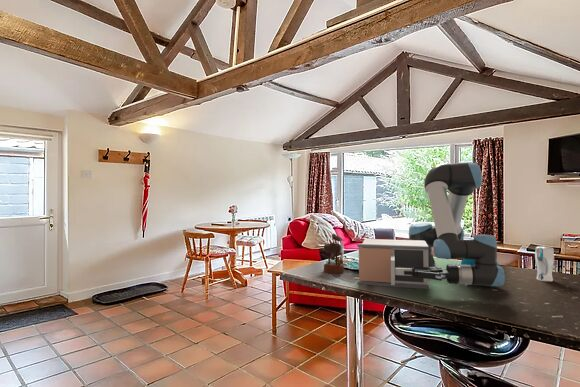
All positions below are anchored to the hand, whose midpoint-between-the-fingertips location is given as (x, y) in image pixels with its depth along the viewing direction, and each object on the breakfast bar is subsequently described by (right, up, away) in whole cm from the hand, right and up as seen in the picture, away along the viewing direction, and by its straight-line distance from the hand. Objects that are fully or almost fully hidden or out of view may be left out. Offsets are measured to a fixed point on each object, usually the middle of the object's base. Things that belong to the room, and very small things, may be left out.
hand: (395, 271), depth 138 cm
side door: (-6, -7, +6) cm, 12 cm away
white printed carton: (+74, -8, +16) cm, 76 cm away
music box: (-21, -9, +38) cm, 45 cm away
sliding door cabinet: (+4, -9, +18) cm, 20 cm away
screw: (-14, -9, +55) cm, 57 cm away
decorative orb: (+40, -8, +9) cm, 42 cm away
